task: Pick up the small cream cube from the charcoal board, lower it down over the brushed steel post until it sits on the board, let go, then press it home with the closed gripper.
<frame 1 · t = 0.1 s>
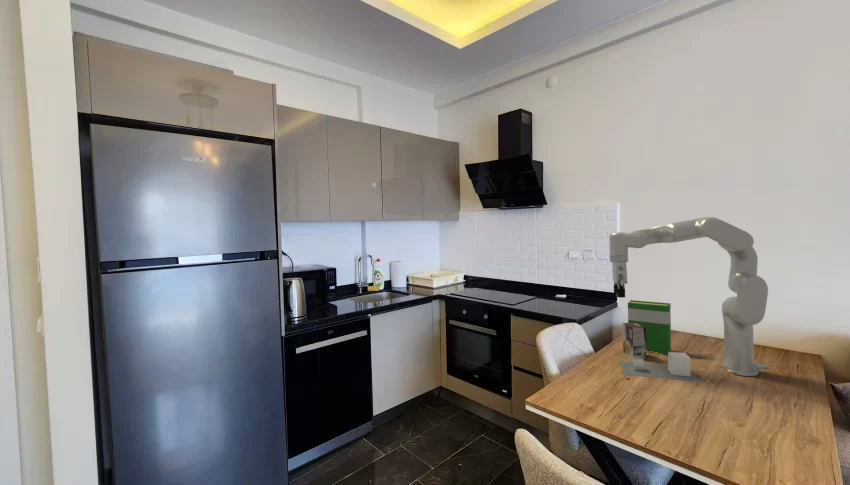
hand: (619, 295, 169), 31 cm above the table, tool pointing down, fingers open, 9 cm apart
hardback book: (649, 350, 184), on the table
small cream cube: (679, 372, 151), point 1 cm above the table, touching board
coffee box: (634, 358, 173), on the table
post: (638, 372, 156), resting on board
board: (656, 374, 154), on the table
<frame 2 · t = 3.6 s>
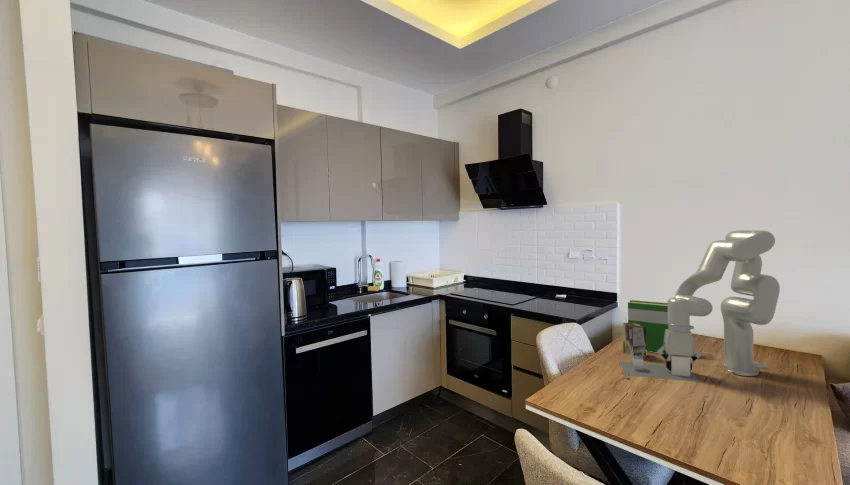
hand: (678, 370, 151), 3 cm above the table, tool pointing down, fingers closed on small cream cube, 6 cm apart
small cream cube: (679, 372, 151), point 1 cm above the table, touching board, gripper
everything else where it was.
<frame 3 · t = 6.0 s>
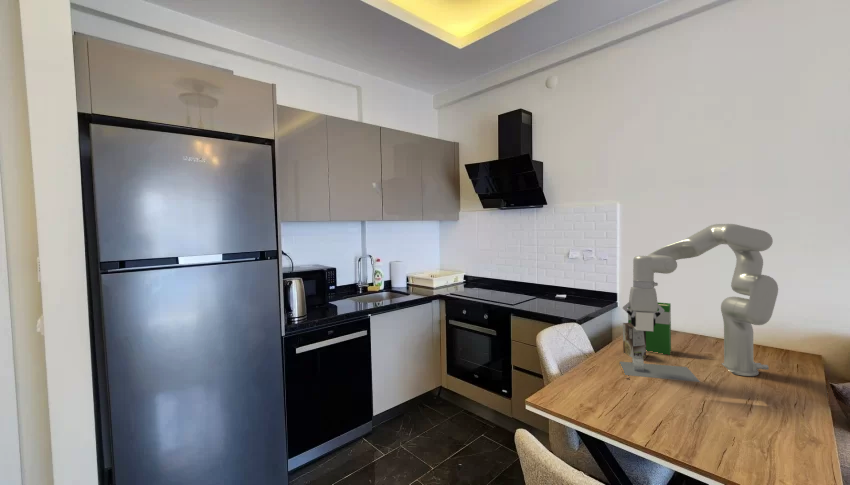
hand: (642, 326, 155), 20 cm above the table, tool pointing down, fingers closed on small cream cube, 6 cm apart
small cream cube: (643, 328, 155), point 19 cm above the table, touching gripper
everything else where it was.
when the fingers open (4 cm above the table, at t = 8.9 s): small cream cube drops 1 cm, resting on board.
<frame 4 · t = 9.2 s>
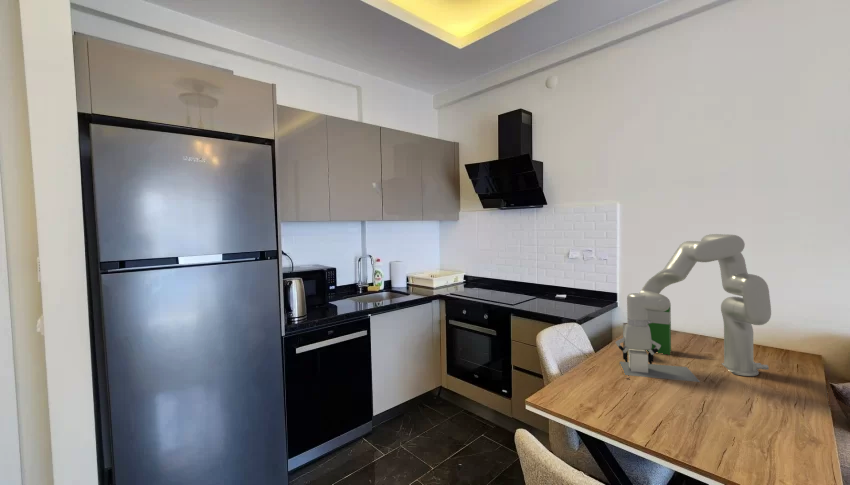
hand: (637, 362, 156), 5 cm above the table, tool pointing down, fingers open, 8 cm apart
small cream cube: (638, 369, 156), point 1 cm above the table, touching board
everything else where it was.
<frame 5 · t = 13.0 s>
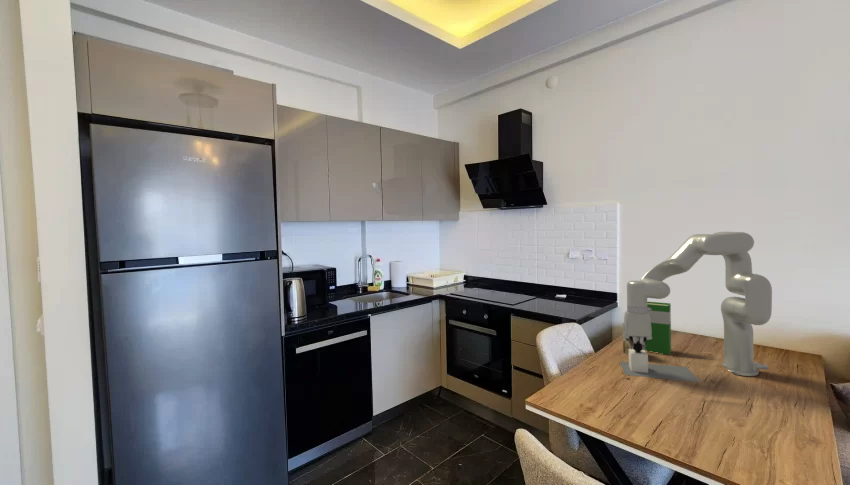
hand: (637, 351, 156), 9 cm above the table, tool pointing down, fingers closed
small cream cube: (638, 369, 156), point 1 cm above the table, touching board, gripper
everything else where it was.
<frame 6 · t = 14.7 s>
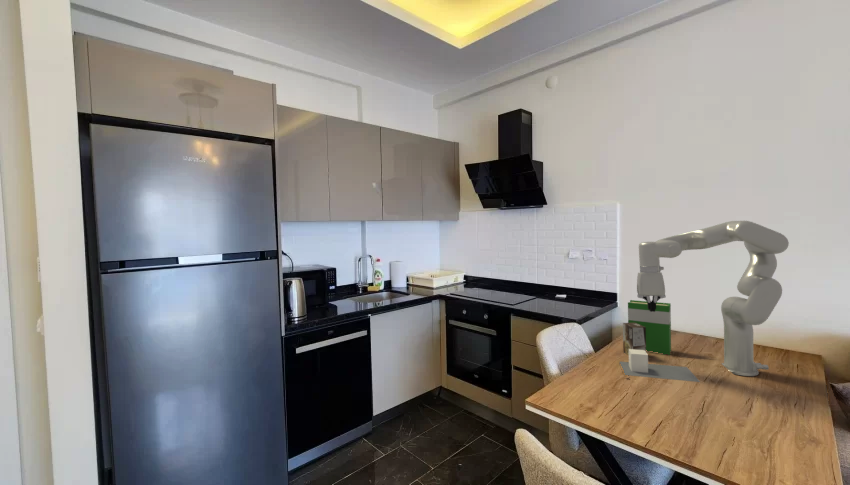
hand: (652, 311, 160), 26 cm above the table, tool pointing down, fingers closed
small cream cube: (638, 369, 156), point 1 cm above the table, touching board
everything else where it was.
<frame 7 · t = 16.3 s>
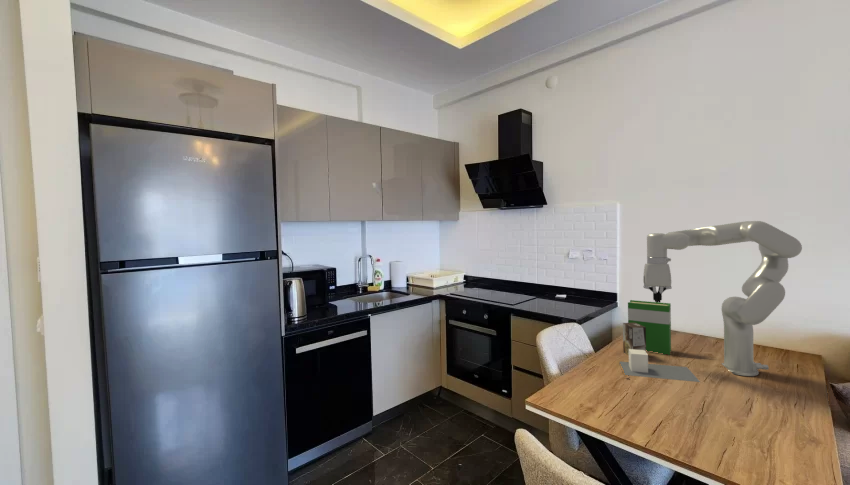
hand: (657, 301, 162), 29 cm above the table, tool pointing down, fingers closed
nothing on the table moved.
at the end: small cream cube 0.1 cm from the post (horizontally); small cream cube point 1.5 cm above the table; the gripper is holding nothing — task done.
